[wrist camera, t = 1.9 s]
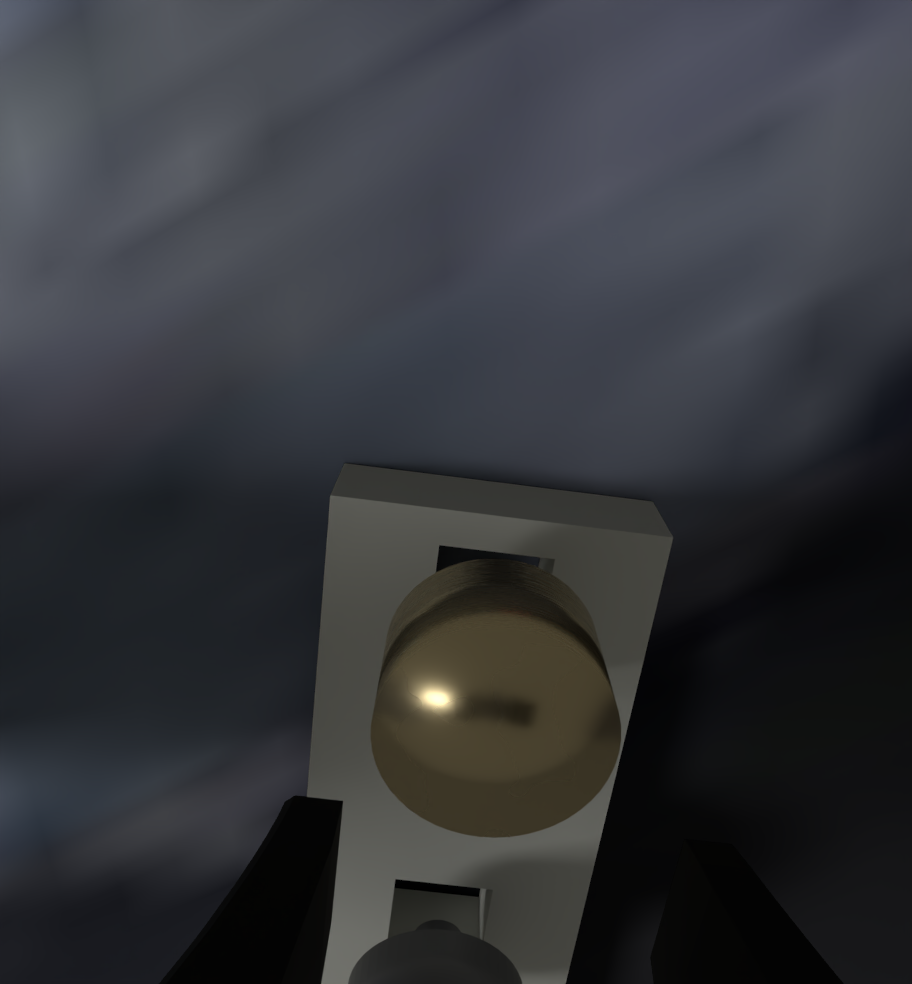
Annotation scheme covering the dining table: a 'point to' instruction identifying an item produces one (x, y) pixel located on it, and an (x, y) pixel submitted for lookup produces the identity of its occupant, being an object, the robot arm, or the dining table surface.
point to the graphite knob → (434, 959)
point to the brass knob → (494, 701)
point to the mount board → (353, 687)
